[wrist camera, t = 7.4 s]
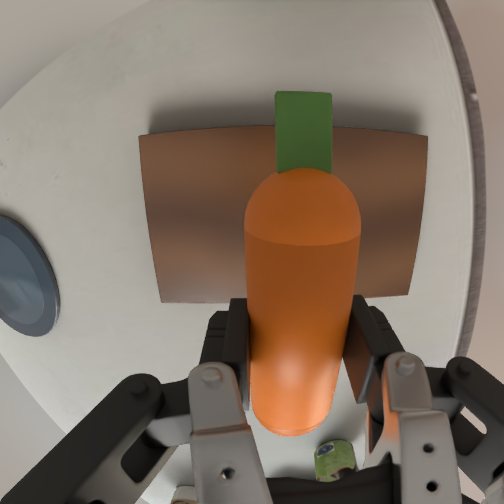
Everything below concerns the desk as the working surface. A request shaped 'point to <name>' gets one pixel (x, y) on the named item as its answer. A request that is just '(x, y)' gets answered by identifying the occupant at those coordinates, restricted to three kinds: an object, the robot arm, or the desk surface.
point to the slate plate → (26, 282)
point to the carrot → (299, 269)
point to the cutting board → (241, 189)
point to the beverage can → (334, 461)
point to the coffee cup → (184, 495)
